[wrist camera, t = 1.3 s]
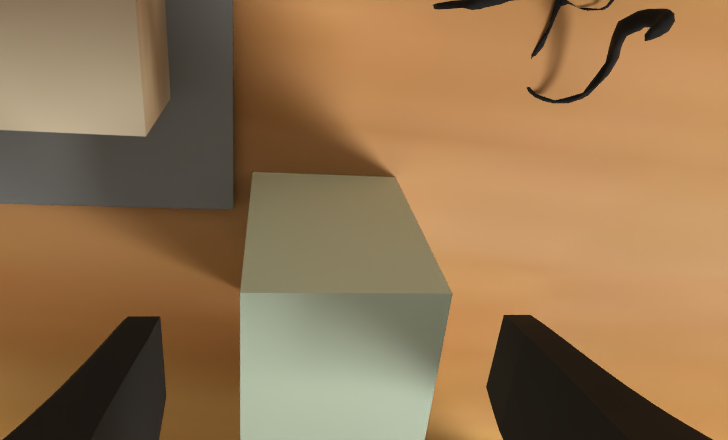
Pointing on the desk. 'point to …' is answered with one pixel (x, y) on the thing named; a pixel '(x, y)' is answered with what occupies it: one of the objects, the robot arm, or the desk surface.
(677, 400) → the desk surface
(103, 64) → the base slab
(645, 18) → the creature
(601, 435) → the robot arm
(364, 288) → the pillar block
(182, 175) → the mat
